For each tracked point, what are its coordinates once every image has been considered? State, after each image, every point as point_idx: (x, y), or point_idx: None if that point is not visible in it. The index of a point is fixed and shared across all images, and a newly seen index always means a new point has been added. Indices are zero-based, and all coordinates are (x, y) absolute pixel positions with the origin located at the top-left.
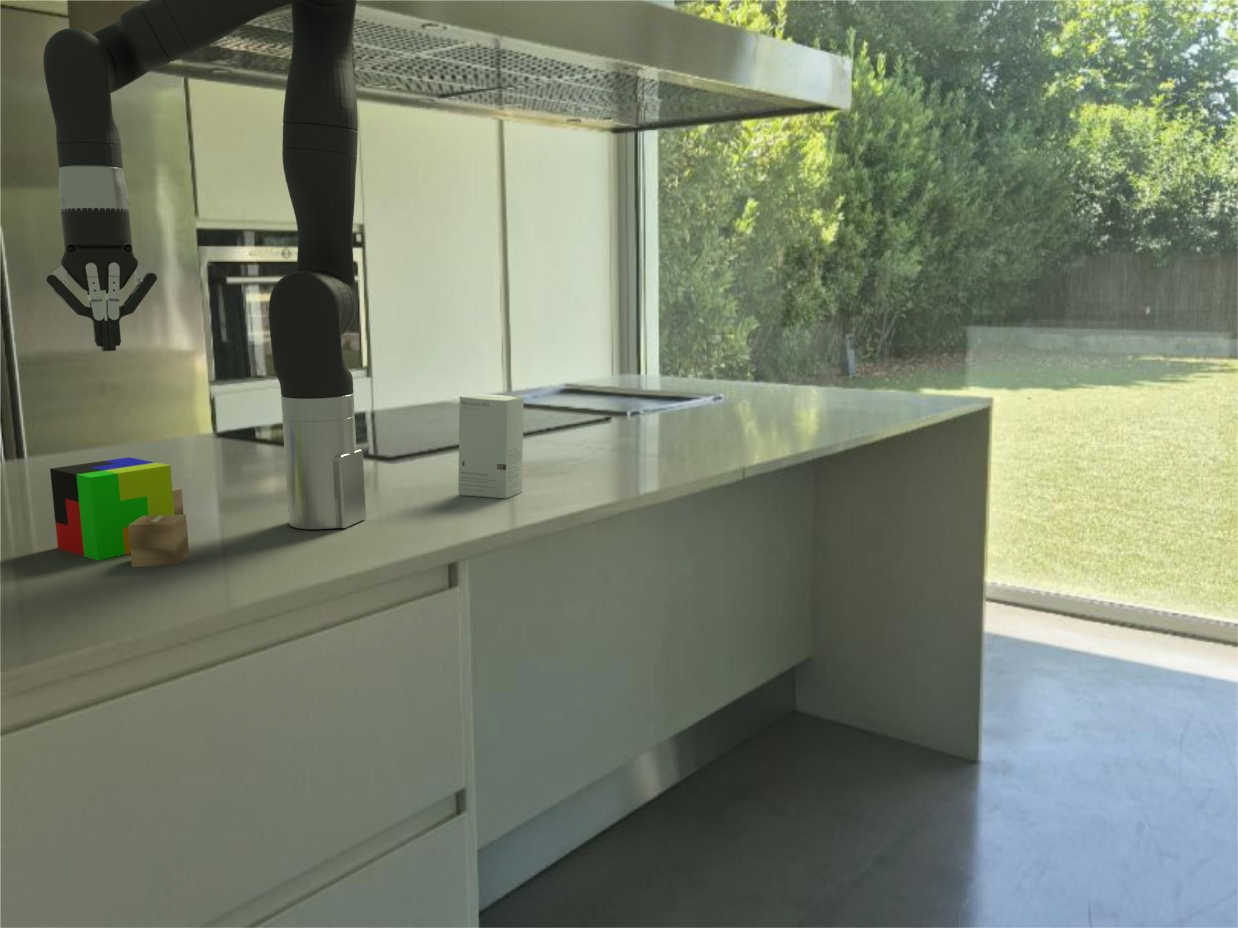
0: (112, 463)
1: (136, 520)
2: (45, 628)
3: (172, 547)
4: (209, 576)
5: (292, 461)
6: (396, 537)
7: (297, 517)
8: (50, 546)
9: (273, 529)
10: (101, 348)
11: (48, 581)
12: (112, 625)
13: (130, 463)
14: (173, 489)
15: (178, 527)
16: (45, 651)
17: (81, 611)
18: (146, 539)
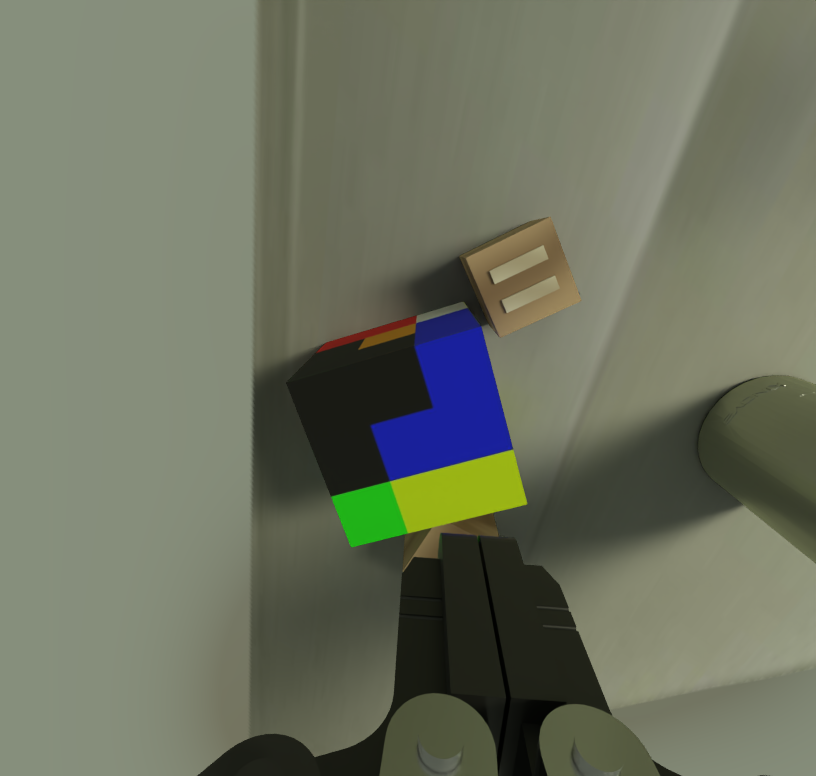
0: (424, 399)
1: (421, 545)
2: (281, 705)
3: None
4: None
5: (789, 523)
6: (780, 588)
7: (710, 467)
8: (315, 324)
9: (667, 428)
10: (440, 544)
11: (296, 538)
12: (340, 729)
13: (460, 425)
14: (565, 294)
15: None
16: None
17: (319, 674)
18: None
